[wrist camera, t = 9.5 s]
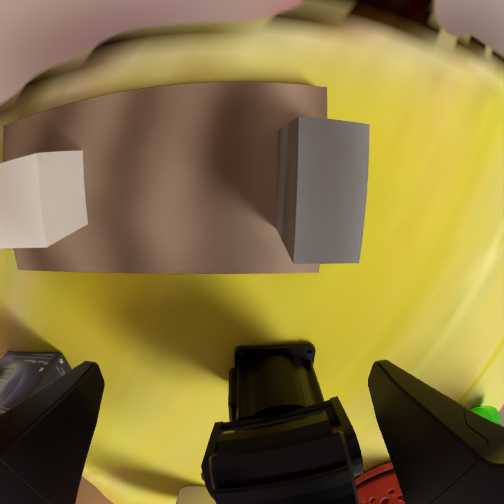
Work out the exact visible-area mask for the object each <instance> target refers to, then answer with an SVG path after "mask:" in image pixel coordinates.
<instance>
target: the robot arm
mask: <svg viewBox="0 0 504 504" xmlns="http://www.w3.org/2000/svg"><path fill="white" fill-rule="evenodd" d="M308 349H311V350H309V351H307V350H308ZM239 352H243V353H239ZM314 357H315V347H314V345H313V344H295V345H273V346H239V347H237V348H236V349H235V368H231V369H230V370H229V397H228V406H229V419H230V422H224V423H223V422H215V424H214V427H213V431H212V433H211V436H210V439H209V442H208V446H207V449H206V452H205V455H204V459H203V462H202V465H201V468H202V473H201V477H202V480H203V481H205V485H206V488H207V490H208V493H209V494H210V496H211V497H212V498H213V499H214V500H215V502H216V504H359V500H358V494H357V489H356V484H355V478H354V476H357V475H360V474H363V460H362V455H361V450H360V446H359V443H358V440H357V437H356V434H355V431H354V429H353V427H352V425H351V423H350V421H349V419H348V417H347V415H346V413H345V411H344V409H343V407H342V405H341V403H340V401H339V399H338V397H337V396H336V397H333V398H330V400H327V401H324V398H323V395H322V392H321V389H320V386H319V383H318V380H317V377H316V374H315V371H314V368H313V362H314ZM104 385H105V383H104V379H103V376H102V374H101V371H100V369H99V366H98V364H97V363H95V362H91V361H85V362H83V363H81V364H80V365H78V366H77V367H75V368H74V369H72V370H70V371H69V372H67V373H66V374H64V375H63V376H61V377H60V378H58V379H56V380H55V381H53V382H52V383H50V384H49V385H47V386H45V387H44V388H42V389H41V390H39V391H38V392H36V393H34V394H33V395H31V396H30V397H28V398H27V399H25V400H23V401H22V402H20V403H19V404H17V405H16V406H14V407H13V408H11V409H9V410H8V411H6V412H4V413H3V414H1V415H0V504H75V502H76V498H77V493H78V489H79V485H80V481H81V477H82V473H83V469H84V465H85V461H86V458H87V454H88V451H89V447H90V444H91V440H92V437H93V434H94V430H95V427H96V424H97V419H98V415H99V409H100V405H101V400H102V395H103V391H104ZM368 387H369V390H370V394H371V398H372V402H373V406H374V410H375V415H376V418H377V422H378V425H379V428H380V431H381V433H382V436H383V439H384V442H385V444H386V447H387V450H388V453H389V456H390V459H391V462H392V465H393V468H394V471H395V474H396V477H397V480H398V483H399V486H400V489H401V492H402V495H403V498H404V502H405V504H504V427H503V426H501V425H499V424H497V423H495V422H492V421H490V420H488V419H486V418H484V417H482V416H480V415H478V414H477V413H475V412H473V411H471V410H469V409H468V408H466V407H463V406H462V405H461V404H459V403H457V402H456V401H454V400H452V399H451V398H449V397H447V396H446V395H444V394H442V393H441V392H439V391H437V390H436V389H434V388H432V387H431V386H429V385H427V384H426V383H424V382H422V381H421V380H419V379H417V378H416V377H414V376H412V375H411V374H409V373H407V372H406V371H404V370H403V369H401V368H399V367H398V366H396V365H394V364H393V363H391V362H390V361H388V360H379V361H375V362H374V364H373V366H372V369H371V372H370V375H369V378H368Z"/></svg>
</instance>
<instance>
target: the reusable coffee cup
mask: <svg viewBox="0 0 504 504" xmlns="http://www.w3.org/2000/svg"><path fill="white" fill-rule="evenodd" d="M176 504H216V502H215V500H214V499H213V498H212V497H211V496H210V494H209V493H208V490H207V488H206V486H189V487H184V488H181V489H180V491H179V494H178V498H177V502H176Z"/></svg>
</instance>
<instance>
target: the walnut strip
mask: <svg viewBox="0 0 504 504" xmlns="http://www.w3.org/2000/svg"><path fill="white" fill-rule="evenodd" d="M79 150H83V170H84V187H85V200H86V210H87V220H88V225H86V226H84V227H82V228H80V229H78V230H77V231H75V232H73V233H71V234H69V235H68V236H66V237H64V238H62V239H61V240H59V241H57V242H55V243H54V244H52V245H50V246H49V247H47V248H14V253H15V258H16V262H17V266H18V270H37V271H65V272H102V273H168V274H250V273H318V272H319V264H327V263H359V259H360V252H361V244H362V236H363V227H364V217H365V207H366V195H367V180H368V161H369V124H363V123H356V122H349V121H341V120H333V119H327V87H319V86H311V85H300V84H288V83H271V82H206V83H190V84H177V85H167V86H158V87H151V88H143V89H137V90H130V91H124V92H119V93H114V94H108V95H104V96H99V97H94V98H90V99H86V100H82V101H78V102H74V103H70V104H67V105H63V106H60V107H56V108H53V109H50V110H46V111H43V112H40V113H37V114H34V115H31V116H29V117H26V118H23V119H20V120H18V121H15V122H13V123H10V124H8V125H5V126H4V135H3V161H4V162H7V161H10V160H13V159H17V158H20V157H24V156H28V155H31V154H35V153H43V152H58V151H79Z"/></svg>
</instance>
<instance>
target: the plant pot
mask: <svg viewBox="0 0 504 504" xmlns="http://www.w3.org/2000/svg"><path fill="white" fill-rule="evenodd" d="M355 484H356V489H357V494H358V500H359V504H405V502H404V498H403V495H402V492H401V489H400V486H399V483H398V480H397V477H396V474H395V471H394V468H393V465H392V462H391V463H387V464H384V465H381V466H378V467H376V468H374V469H372V470H370V471H368V472H366V473H364V474H362V475H361V476H359V477H358V478H357V479H355ZM399 500H402V501H399Z"/></svg>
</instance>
